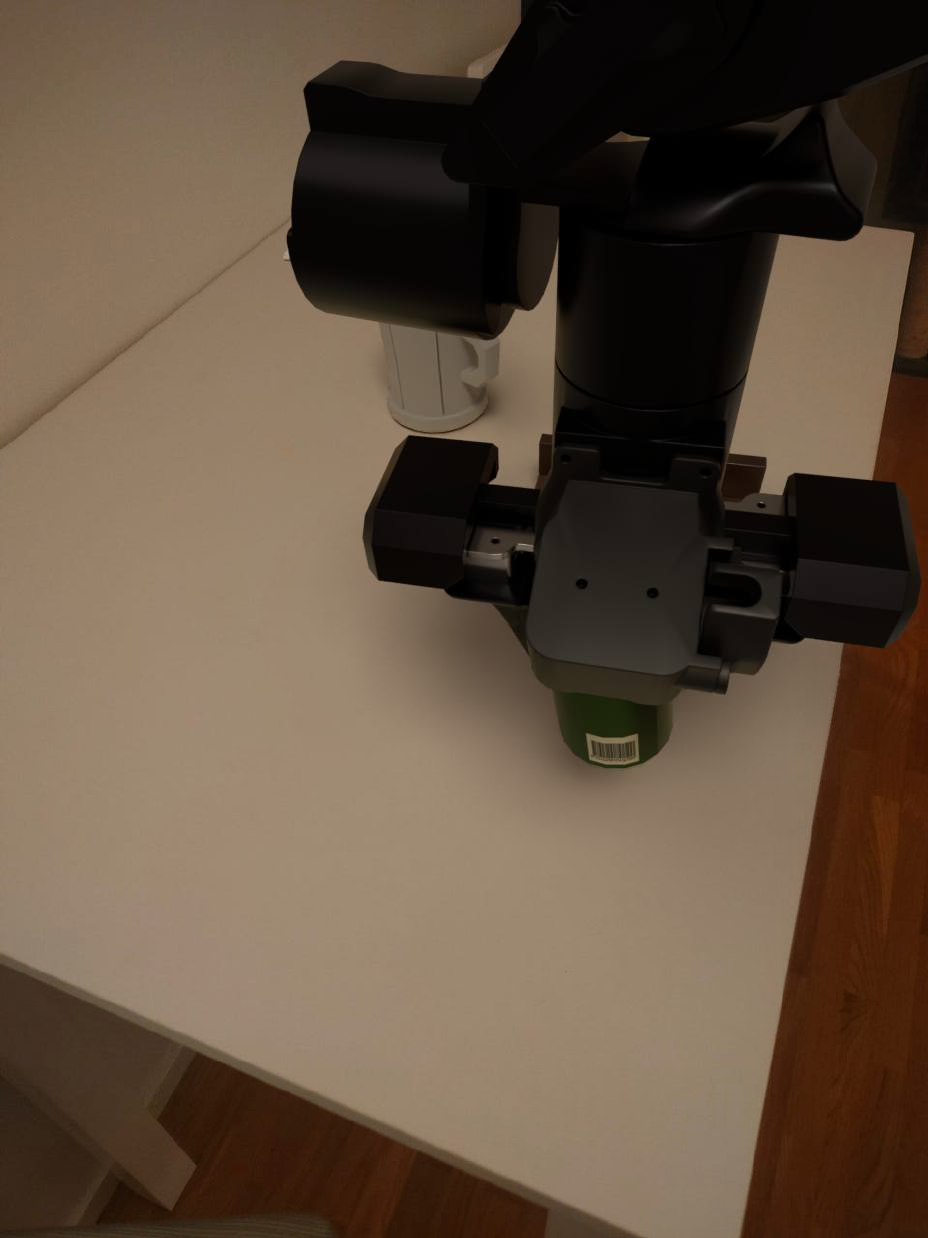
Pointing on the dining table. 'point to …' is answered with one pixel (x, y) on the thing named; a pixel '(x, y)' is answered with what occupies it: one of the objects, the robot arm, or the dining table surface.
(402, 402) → the cup
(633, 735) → the beer can
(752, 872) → the dining table surface
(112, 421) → the dining table surface
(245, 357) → the dining table surface
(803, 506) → the robot arm
